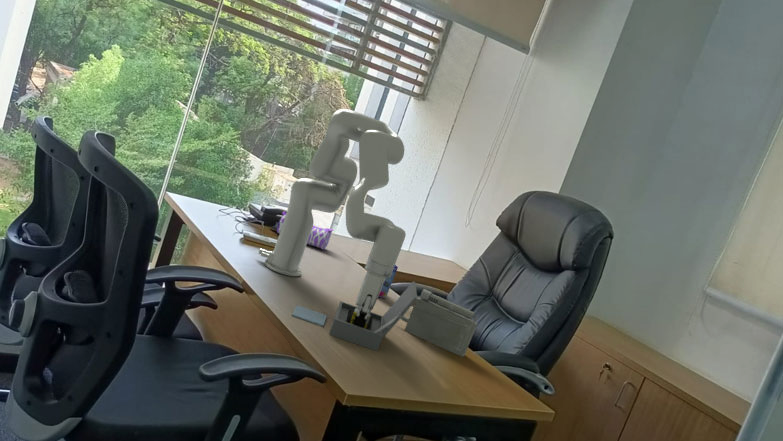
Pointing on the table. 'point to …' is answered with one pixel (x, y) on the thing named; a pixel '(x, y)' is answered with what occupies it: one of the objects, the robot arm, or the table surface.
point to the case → (371, 321)
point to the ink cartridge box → (387, 284)
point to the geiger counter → (441, 323)
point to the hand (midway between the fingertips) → (357, 327)
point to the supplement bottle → (357, 313)
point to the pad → (309, 315)
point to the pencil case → (312, 234)
